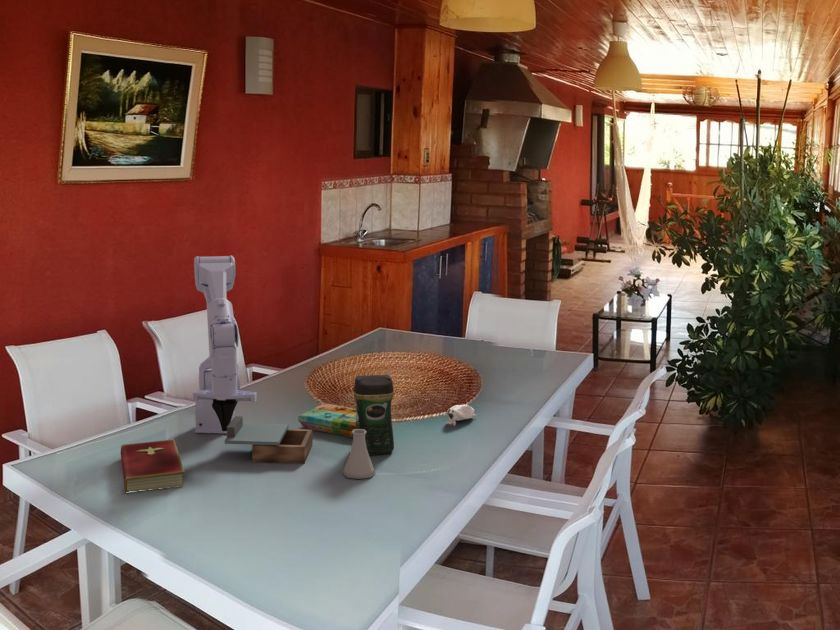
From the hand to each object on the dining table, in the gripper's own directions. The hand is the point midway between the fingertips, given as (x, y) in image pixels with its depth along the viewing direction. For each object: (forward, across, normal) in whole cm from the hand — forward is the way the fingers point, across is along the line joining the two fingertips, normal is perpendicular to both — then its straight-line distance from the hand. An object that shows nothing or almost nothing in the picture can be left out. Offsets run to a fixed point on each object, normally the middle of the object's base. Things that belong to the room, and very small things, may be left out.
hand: (225, 430), depth 202 cm
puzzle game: (+6, +26, +19) cm, 32 cm away
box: (+5, +14, 0) cm, 15 cm away
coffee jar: (+6, +34, +4) cm, 35 cm away
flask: (+6, +32, -11) cm, 35 cm away
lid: (+1, +7, 0) cm, 7 cm away
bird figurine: (+6, +56, +28) cm, 63 cm away
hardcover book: (+6, -13, -14) cm, 20 cm away
